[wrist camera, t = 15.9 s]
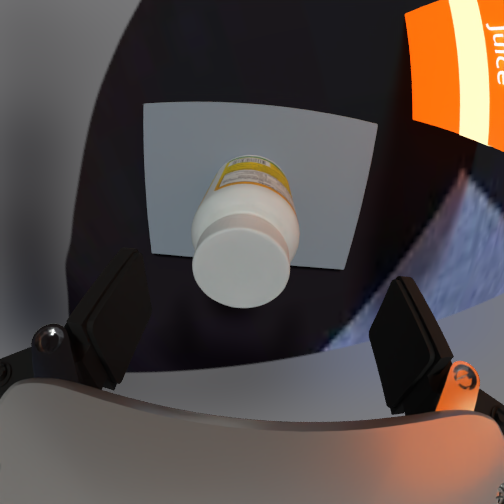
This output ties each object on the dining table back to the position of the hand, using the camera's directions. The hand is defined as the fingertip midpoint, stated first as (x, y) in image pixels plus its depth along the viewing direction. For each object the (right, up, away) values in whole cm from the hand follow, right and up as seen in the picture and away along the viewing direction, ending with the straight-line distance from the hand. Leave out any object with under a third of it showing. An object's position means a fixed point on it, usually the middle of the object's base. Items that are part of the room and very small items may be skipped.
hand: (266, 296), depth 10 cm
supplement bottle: (-1, +6, +10) cm, 11 cm away
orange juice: (+15, +15, +4) cm, 21 cm away
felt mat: (0, +6, +10) cm, 12 cm away
